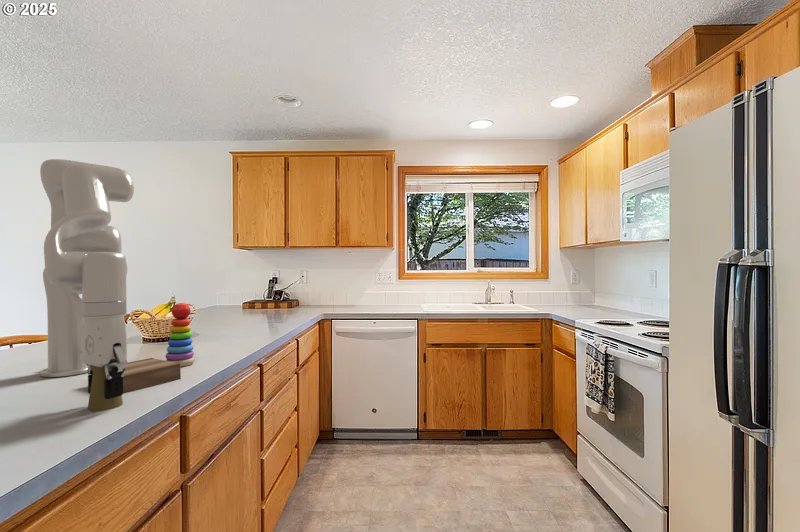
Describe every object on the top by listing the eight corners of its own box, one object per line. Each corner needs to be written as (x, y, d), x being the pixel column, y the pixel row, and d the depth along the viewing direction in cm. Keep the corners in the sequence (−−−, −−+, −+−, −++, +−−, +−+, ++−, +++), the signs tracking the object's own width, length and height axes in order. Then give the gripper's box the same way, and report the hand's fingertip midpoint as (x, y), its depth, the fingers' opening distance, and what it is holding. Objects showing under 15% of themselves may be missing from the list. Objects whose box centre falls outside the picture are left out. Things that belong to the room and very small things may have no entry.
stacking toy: (181, 368, 115) (181, 304, 115) (158, 367, 116) (157, 304, 117) (200, 362, 123) (200, 302, 123) (178, 361, 124) (177, 301, 124)
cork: (120, 399, 88) (120, 350, 88) (125, 406, 83) (124, 354, 83) (86, 406, 84) (85, 354, 84) (88, 413, 79) (88, 359, 79)
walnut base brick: (93, 385, 99) (93, 369, 99) (151, 372, 111) (151, 357, 111) (121, 393, 92) (121, 376, 92) (180, 378, 104) (180, 363, 104)
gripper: (65, 309, 85) (65, 393, 84) (104, 313, 76) (105, 406, 76) (105, 306, 91) (105, 384, 91) (145, 310, 82) (146, 395, 82)
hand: (105, 393), depth 83 cm, fingers open, 6 cm apart
